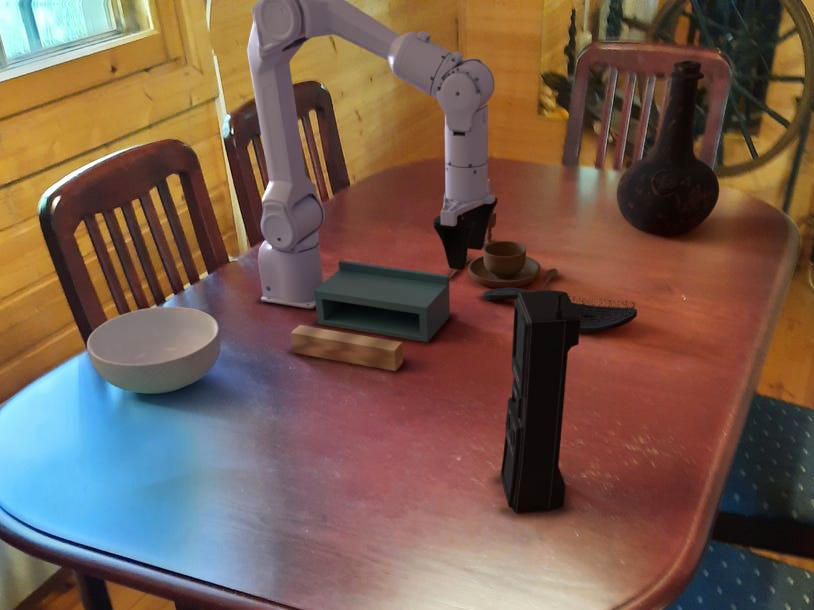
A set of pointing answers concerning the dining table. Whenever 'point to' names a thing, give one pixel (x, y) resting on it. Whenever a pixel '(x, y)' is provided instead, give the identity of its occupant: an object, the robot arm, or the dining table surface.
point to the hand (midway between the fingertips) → (466, 258)
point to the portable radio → (537, 400)
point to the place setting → (504, 264)
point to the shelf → (384, 301)
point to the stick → (347, 347)
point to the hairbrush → (580, 311)
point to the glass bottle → (671, 168)
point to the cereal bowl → (155, 349)
